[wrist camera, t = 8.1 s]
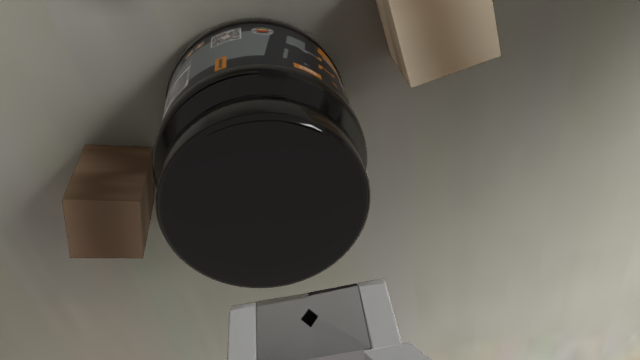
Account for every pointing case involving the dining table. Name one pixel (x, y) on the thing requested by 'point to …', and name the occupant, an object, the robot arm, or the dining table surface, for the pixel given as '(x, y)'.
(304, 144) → the supplement container
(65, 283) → the dining table surface
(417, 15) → the beech block
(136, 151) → the walnut block
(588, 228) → the dining table surface
